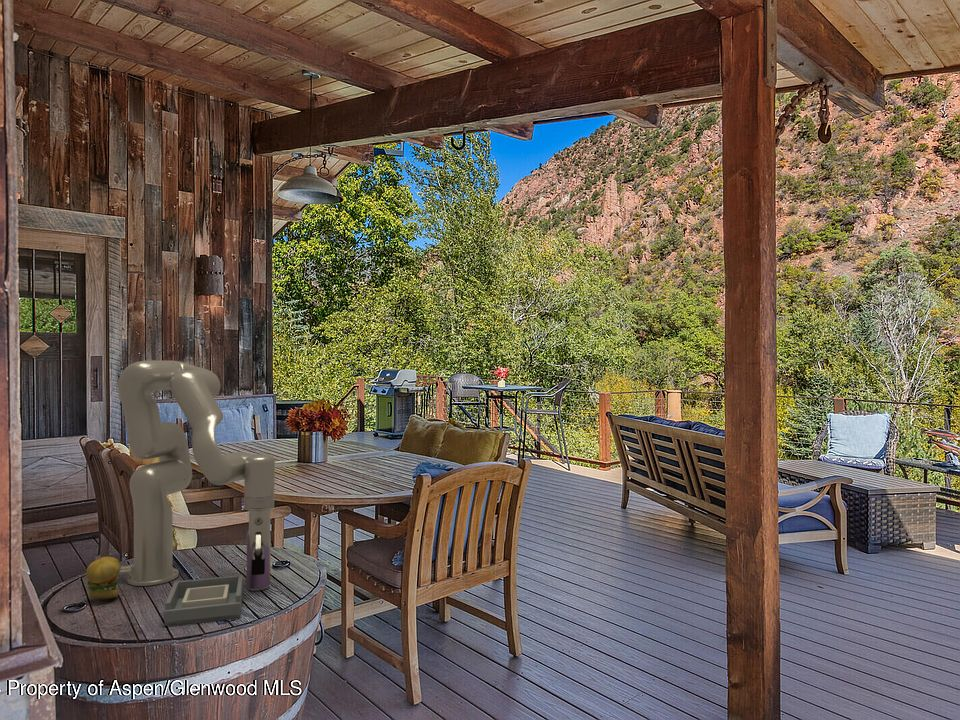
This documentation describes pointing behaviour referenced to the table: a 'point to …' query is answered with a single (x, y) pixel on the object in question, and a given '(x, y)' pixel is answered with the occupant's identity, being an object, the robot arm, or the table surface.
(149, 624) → the table surface
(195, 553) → the table surface
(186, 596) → the box
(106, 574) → the hamburger
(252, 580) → the beverage can
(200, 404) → the robot arm
